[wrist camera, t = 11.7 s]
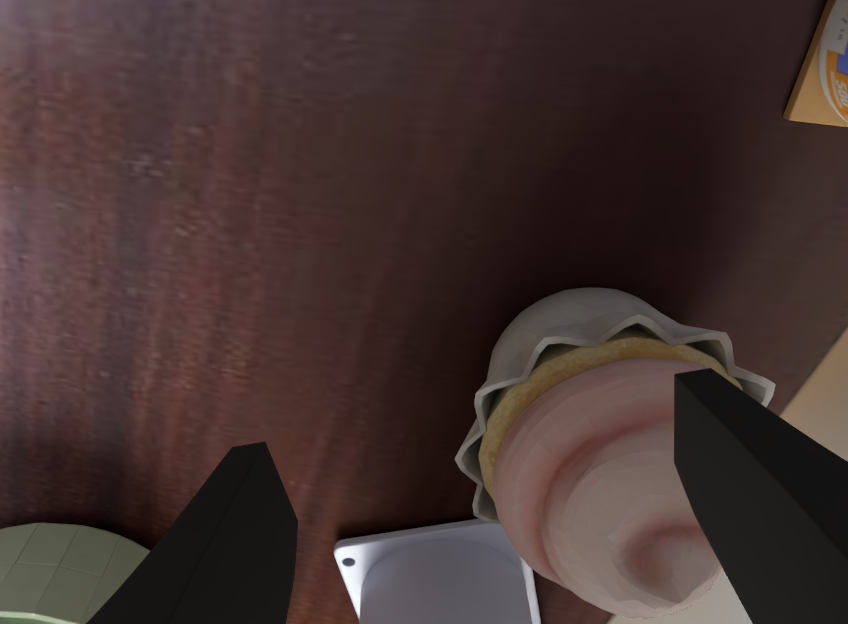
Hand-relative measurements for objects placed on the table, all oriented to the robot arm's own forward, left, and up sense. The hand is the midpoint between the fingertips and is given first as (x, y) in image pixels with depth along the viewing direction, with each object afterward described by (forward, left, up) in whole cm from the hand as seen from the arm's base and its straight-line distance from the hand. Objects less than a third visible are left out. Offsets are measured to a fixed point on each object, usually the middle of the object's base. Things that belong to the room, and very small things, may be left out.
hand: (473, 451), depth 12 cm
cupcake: (-6, -4, -11) cm, 13 cm away
